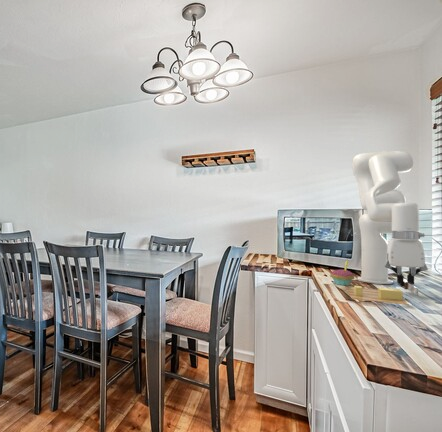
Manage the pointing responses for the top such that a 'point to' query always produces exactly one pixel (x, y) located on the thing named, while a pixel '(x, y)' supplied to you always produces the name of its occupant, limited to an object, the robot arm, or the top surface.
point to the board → (373, 296)
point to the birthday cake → (342, 276)
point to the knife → (409, 287)
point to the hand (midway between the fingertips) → (405, 285)
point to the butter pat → (358, 290)
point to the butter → (390, 293)
